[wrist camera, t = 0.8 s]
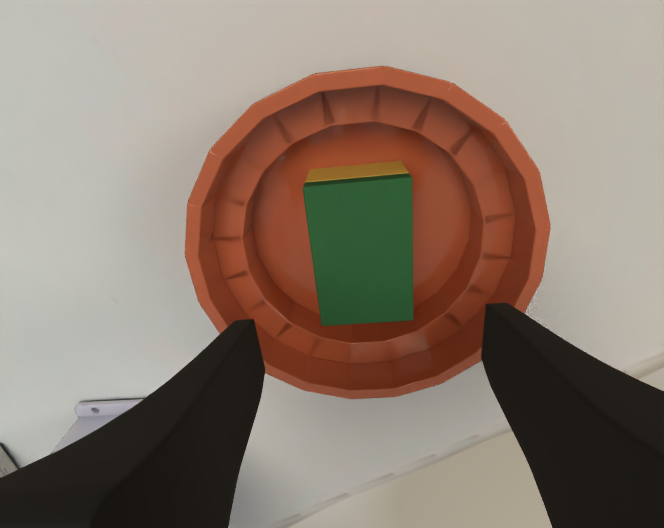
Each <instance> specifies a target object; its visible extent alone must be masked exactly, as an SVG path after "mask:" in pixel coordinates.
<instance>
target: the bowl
mask: <svg viewBox="0 0 664 528" xmlns="http://www.w3.org/2000/svg"><path fill="white" fill-rule="evenodd" d="M393 161H402V162H403V164H404V165H405V167H406V168H407V170H408V172H409V173H410V175H411V177H412V189H413V312H414V319H413V320H411V321H395V322H379V323H363V324H347V325H331V326H322V325H321V320H320V312H319V305H318V298H317V290H316V283H315V276H314V269H313V261H312V254H311V247H310V239H309V232H308V225H307V217H306V210H305V203H304V195H303V185H304V183H305V180H306V177H307V175H308V172H309V170H310V169H318V168H329V167H339V166H350V165H361V164H371V163H382V162H393ZM550 226H551V225H550V220H549V215H548V210H547V205H546V200H545V195H544V191H543V186H542V181H541V176H540V172H539V169H538V168H537V166H536V165H535V163H534V162H533V160H532V159H531V157H530V156H529V154H528V153H527V151H526V150H525V148H524V147H523V145H522V144H521V142H520V141H519V139H518V137H517V136H516V134H515V133H514V131H513V130H512V128H511V127H510V125H509V124H508V122H507V121H505V119H504V118H502V117H501V116H500V115H498V114H497V113H495V112H494V111H492V110H491V109H490V108H488V107H487V106H485V105H484V104H482V103H481V102H479V101H478V100H477V99H475V98H474V97H472V96H471V95H469V94H468V93H467V92H465V91H464V90H462V89H461V88H459V87H458V86H456V85H455V84H454V83H451V82H449V81H445V80H441V79H437V78H433V77H429V76H424V75H420V74H416V73H412V72H408V71H404V70H400V69H396V68H392V67H388V66H376V67H367V68H358V69H349V70H340V71H331V72H322V73H315V74H312V75H310V76H308V77H306V78H304V79H302V80H300V81H298V82H296V83H294V84H292V85H290V86H288V87H286V88H284V89H282V90H280V91H278V92H276V93H273V94H271V95H269V96H267V97H265V98H263V99H261V100H259V101H257V102H255V103H254V104H253V105H251V106H250V107H249V108H248V109H247V111H246V112H245V113H244V114H243V115H242V116H241V117H240V118H239V119H238V120H237V121H236V122H235V123H234V124H233V125H232V126H231V127H230V129H229V130H228V131H227V132H226V133H225V134H224V135H223V136H222V137H221V138H220V139H219V140H218V141H217V142H216V143H215V144H214V145H213V146H212V148H211V149H210V151H209V152H208V155H207V157H206V159H205V162H204V164H203V167H202V169H201V171H200V174H199V176H198V178H197V181H196V183H195V185H194V188H193V190H192V192H191V195H190V197H189V199H188V203H187V219H186V240H185V258H186V261H187V264H188V268H189V271H190V275H191V278H192V281H193V285H194V288H195V291H196V295H197V298H198V301H199V303H200V305H201V307H202V308H203V310H204V311H205V312H206V314H207V315H208V317H209V318H210V320H211V321H212V323H213V324H214V326H215V327H216V328H217V330H218V331H219V333H220V334H221V333H222V332H223V331H224V330H225V329H226V328H227V327H228V326H229V325H230V324H231V323H233V322H234V321H235V320H245V319H254V321H255V326H256V330H257V334H258V339H259V343H260V348H261V352H262V356H263V361H264V365H265V373H266V374H268V375H271V376H273V377H275V378H277V379H279V380H282V381H284V382H286V383H288V384H290V385H293V386H295V387H297V388H299V389H301V390H305V391H309V392H315V393H320V394H325V395H331V396H336V397H341V398H347V399H363V398H384V397H397V396H401V395H404V394H408V393H411V392H415V391H418V390H421V389H425V388H428V387H432V386H435V385H439V384H441V383H444V382H445V381H447V380H449V379H451V378H452V377H454V376H456V375H457V374H459V373H461V372H463V371H464V370H466V369H468V368H470V367H471V366H473V365H475V364H476V363H478V362H480V361H482V359H481V351H482V340H483V329H484V318H485V306H486V304H491V303H508V304H510V305H512V306H513V307H515V308H516V309H518V310H519V311H521V312H522V313H524V312H525V311H526V309H527V307H528V305H529V303H530V301H531V299H532V297H533V296H534V294H535V292H536V290H537V288H538V286H539V284H540V282H541V280H542V277H543V271H544V265H545V259H546V252H547V246H548V240H549V234H550Z"/></svg>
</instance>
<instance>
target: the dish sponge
mask: <svg viewBox="0 0 664 528" xmlns="http://www.w3.org/2000/svg"><path fill="white" fill-rule="evenodd" d="M303 195H304V203H305V210H306V217H307V225H308V232H309V239H310V247H311V254H312V261H313V269H314V276H315V283H316V290H317V298H318V305H319V312H320V320H321V325H322V326H331V325H347V324H363V323H379V322H395V321H411V320H413V319H414V312H413V189H412V177H411V175H410V173H409V172H408V170H407V168H406V167H405V165H404V164H403V162H402V161H393V162H382V163H371V164H361V165H350V166H339V167H329V168H318V169H310V170H309V172H308V175H307V177H306V180H305V183H304V185H303Z"/></svg>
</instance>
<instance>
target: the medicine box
mask: <svg viewBox="0 0 664 528" xmlns="http://www.w3.org/2000/svg"><path fill="white" fill-rule="evenodd" d="M16 470H18V468H17V467H16V466H15V464H14V463H13V461H12V460H11V459H10V457H9V456H8V455H7V454H6V452H5V451H4V450H3V448H2V446H1V445H0V478H1V477H3V476H5V475H8V474H10V473H12V472H14V471H16Z"/></svg>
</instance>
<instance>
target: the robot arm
mask: <svg viewBox="0 0 664 528" xmlns="http://www.w3.org/2000/svg"><path fill="white" fill-rule="evenodd" d="M481 359H482V362H483V365H484V368H485V371H486V374H487V377H488V380H489V383H490V385H491V388H492V390H493V392H494V394H495V396H496V398H497V400H498V402H499V404H500V406H501V408H502V410H503V412H504V414H505V417H506V419H507V421H508V423H509V425H510V427H511V429H512V431H513V433H514V435H515V437H516V438H517V441H518V443H519V445H520V447H521V448H522V451H523V453H524V455H525V457H526V459H527V461H528V464H529V466H530V468H531V470H532V473H533V476H534V478H535V481H536V484H537V486H538V489H539V492H540V494H541V497H542V500H543V502H544V505H545V508H546V511H547V514H548V516H549V519H550V522H551V525H552V528H664V391H661V390H659V389H657V388H655V387H652V386H650V385H648V384H646V383H644V382H641V381H639V380H637V379H635V378H633V377H631V376H629V375H627V374H625V373H623V372H621V371H619V370H617V369H615V368H613V367H611V366H609V365H607V364H605V363H603V362H601V361H600V360H598V359H596V358H594V357H593V356H591V355H589V354H587V353H586V352H584V351H582V350H580V349H579V348H577V347H575V346H574V345H572V344H570V343H569V342H567V341H565V340H564V339H562V338H561V337H559V336H557V335H556V334H554V333H553V332H551V331H550V330H548V329H547V328H545V327H543V326H542V325H540V324H539V323H537V322H536V321H534V320H533V319H531V318H530V317H528V316H527V315H525V314H524V313H522V312H521V311H519V310H518V309H516V308H515V307H513V306H512V305H510V304H508V303H491V304H486V306H485V318H484V329H483V340H482V351H481ZM264 375H265V365H264V361H263V356H262V352H261V348H260V343H259V339H258V334H257V330H256V326H255V321H254V319H245V320H235V321H234V322H233V323H231V324H230V325H229V326H228V327H227V328H226V329H225V330H224V331H223V332H222V333H221V334H220V335H219V336H218V337H217V338H216V339H215V340H214V341H213V342H211V343H210V344H209V345H208V346H207V347H206V348H205V349H204V350H203V351H202V352H201V353H200V354H199V355H198V356H197V357H195V358H194V359H193V360H192V361H191V362H190V363H189V364H187V365H186V366H185V367H184V368H183V369H182V370H180V371H179V372H178V373H177V374H176V375H175V376H173V377H172V378H171V379H170V380H169V381H167V382H166V383H165V384H164V385H162V386H161V387H160V388H158V389H157V390H156V391H154V392H153V393H152V394H150V395H149V396H148V397H146V398H145V399H135V400H115V401H95V402H80V403H78V404H77V406H76V407H75V412H76V414H77V415H78V417H79V418H78V419H77V420H76V422H75V423H74V424H73V425H72V427H71V428H70V429H69V431H68V432H67V433H66V434H65V436H64V437H63V438H62V440H61V441H60V442H59V443H58V445H57V446H56V447H55V449H54V450H53V451H52V452H51V454H50V455H48V456H46V457H44V458H42V459H40V460H38V461H35V462H33V463H31V464H29V465H27V466H25V467H23V468H20V469H18V470H16V471H14V472H12V473H10V474H8V475H5V476H3V477H1V478H0V528H228V526H229V520H230V514H231V509H232V504H233V499H234V493H235V488H236V483H237V478H238V474H239V471H240V467H241V463H242V460H243V456H244V453H245V450H246V446H247V443H248V440H249V436H250V433H251V430H252V426H253V423H254V420H255V416H256V413H257V409H258V406H259V402H260V399H261V394H262V388H263V382H264Z"/></svg>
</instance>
